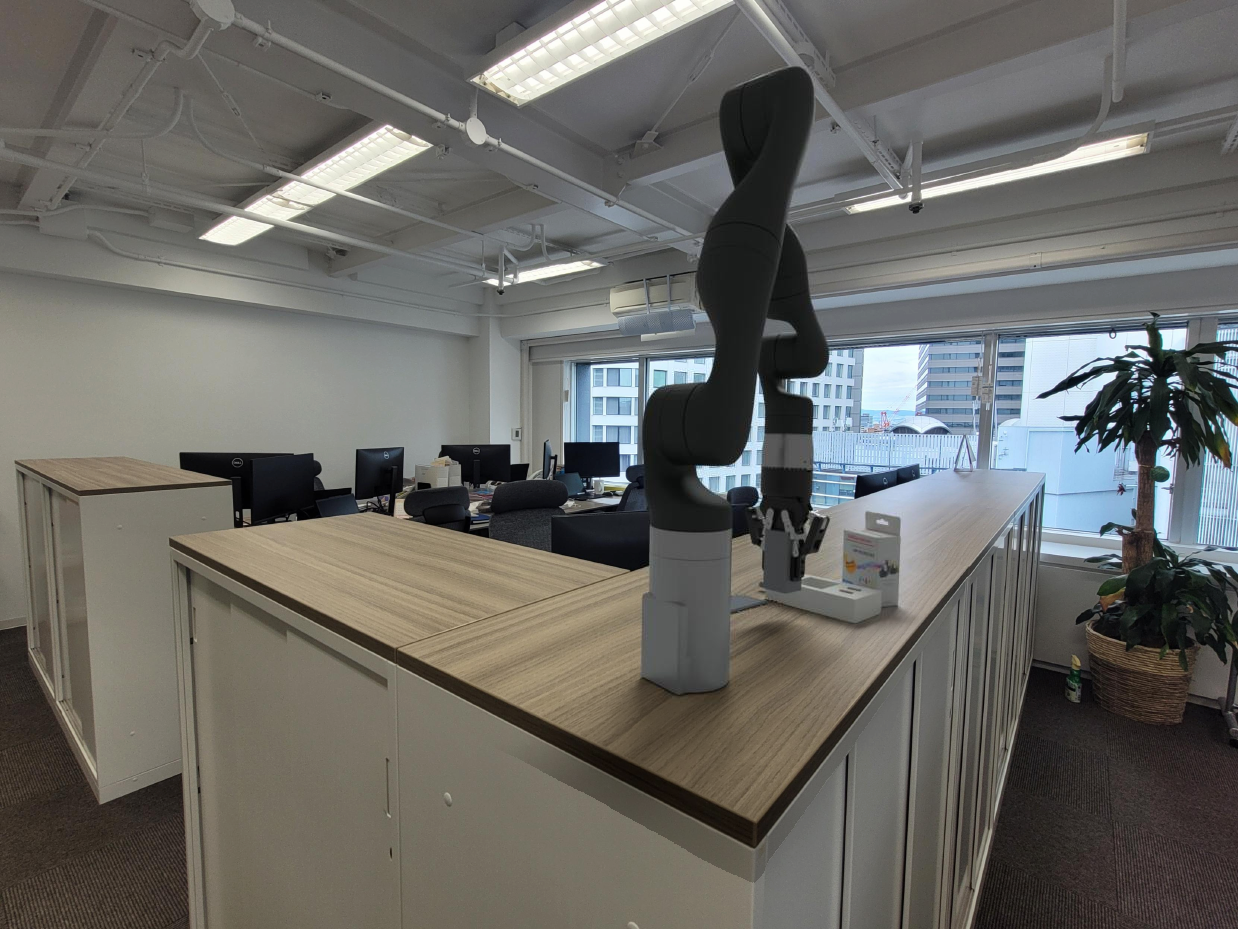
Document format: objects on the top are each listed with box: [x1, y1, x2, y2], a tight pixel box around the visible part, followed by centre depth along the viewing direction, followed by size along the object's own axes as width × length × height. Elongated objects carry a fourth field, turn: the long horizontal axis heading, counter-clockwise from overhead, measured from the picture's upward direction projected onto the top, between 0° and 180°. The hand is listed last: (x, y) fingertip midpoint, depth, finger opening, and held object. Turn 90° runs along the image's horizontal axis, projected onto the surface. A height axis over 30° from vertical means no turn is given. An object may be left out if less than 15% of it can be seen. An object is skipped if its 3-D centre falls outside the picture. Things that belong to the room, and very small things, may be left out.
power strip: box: [758, 573, 882, 624], centre depth 93 cm, size 8×20×4 cm, turn 39°
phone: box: [730, 594, 769, 615], centre depth 91 cm, size 12×6×1 cm, turn 128°
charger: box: [762, 529, 802, 594], centre depth 85 cm, size 4×4×9 cm
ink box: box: [841, 510, 902, 608], centre depth 95 cm, size 8×5×15 cm, turn 17°
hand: (782, 577), depth 85 cm, fingers closed on charger, 4 cm apart
